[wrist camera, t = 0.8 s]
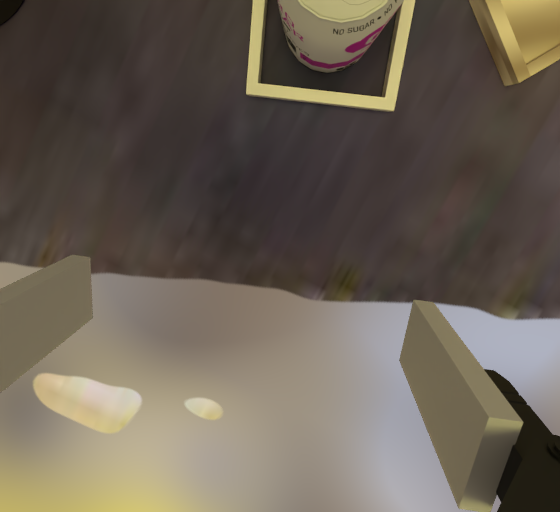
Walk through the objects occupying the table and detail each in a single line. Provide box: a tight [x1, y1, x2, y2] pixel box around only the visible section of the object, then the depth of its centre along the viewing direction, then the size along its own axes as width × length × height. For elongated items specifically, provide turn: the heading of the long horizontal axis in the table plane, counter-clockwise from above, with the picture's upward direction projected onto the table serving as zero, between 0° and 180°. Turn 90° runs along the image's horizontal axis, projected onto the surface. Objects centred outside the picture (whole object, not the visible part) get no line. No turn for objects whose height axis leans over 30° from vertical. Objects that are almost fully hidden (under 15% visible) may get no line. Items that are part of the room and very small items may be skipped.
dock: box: [246, 0, 415, 112], centre depth 31 cm, size 14×14×6 cm
